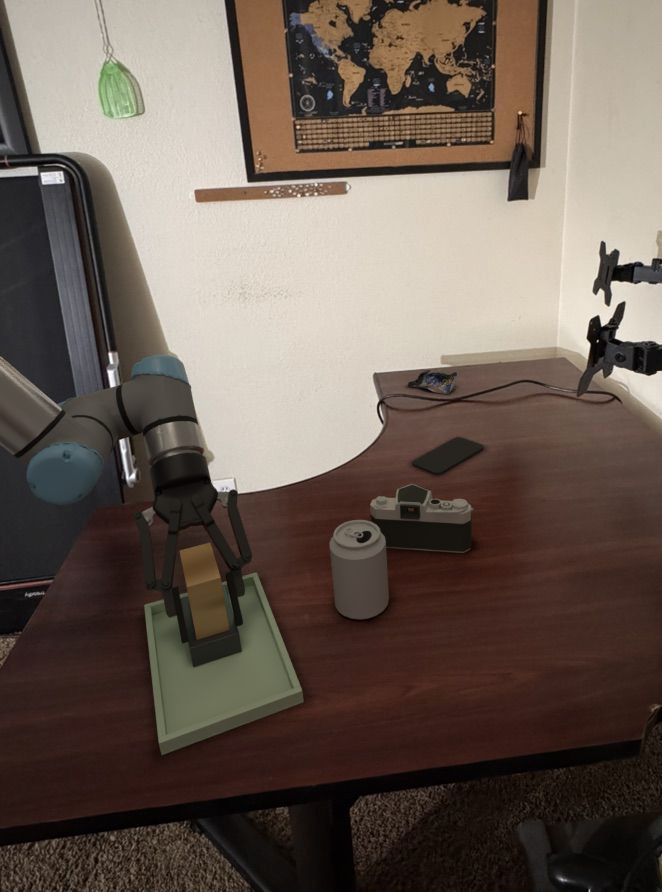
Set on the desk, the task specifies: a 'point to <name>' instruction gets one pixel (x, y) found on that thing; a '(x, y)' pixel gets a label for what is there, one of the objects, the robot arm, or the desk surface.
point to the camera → (423, 521)
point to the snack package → (435, 381)
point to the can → (359, 569)
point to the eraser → (207, 608)
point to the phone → (447, 455)
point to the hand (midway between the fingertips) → (212, 632)
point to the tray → (218, 674)
